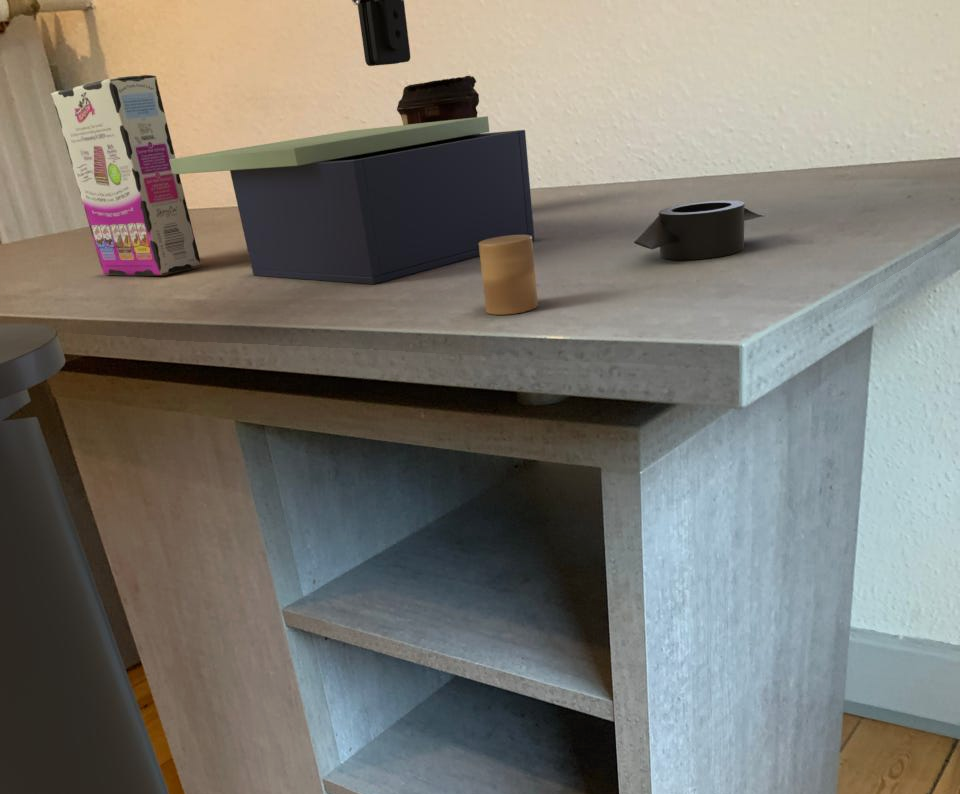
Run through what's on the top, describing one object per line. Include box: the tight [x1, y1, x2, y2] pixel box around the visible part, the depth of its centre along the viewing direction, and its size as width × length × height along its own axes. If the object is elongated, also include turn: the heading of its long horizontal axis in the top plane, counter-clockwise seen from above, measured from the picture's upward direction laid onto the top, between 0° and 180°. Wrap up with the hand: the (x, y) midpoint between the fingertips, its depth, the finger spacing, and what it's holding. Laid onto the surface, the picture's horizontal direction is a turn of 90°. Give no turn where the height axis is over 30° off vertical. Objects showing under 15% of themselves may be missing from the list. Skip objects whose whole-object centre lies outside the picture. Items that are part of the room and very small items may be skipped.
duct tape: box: [633, 200, 767, 261], centre depth 68 cm, size 8×10×3 cm
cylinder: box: [479, 235, 539, 316], centre depth 59 cm, size 3×3×4 cm
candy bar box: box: [50, 74, 202, 277], centre depth 93 cm, size 11×5×16 cm, turn 49°
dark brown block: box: [396, 75, 480, 125], centre depth 100 cm, size 9×8×13 cm
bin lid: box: [169, 115, 490, 175], centre depth 85 cm, size 20×20×1 cm
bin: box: [229, 129, 536, 285], centre depth 83 cm, size 18×18×8 cm
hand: (388, 63), depth 75 cm, fingers closed
